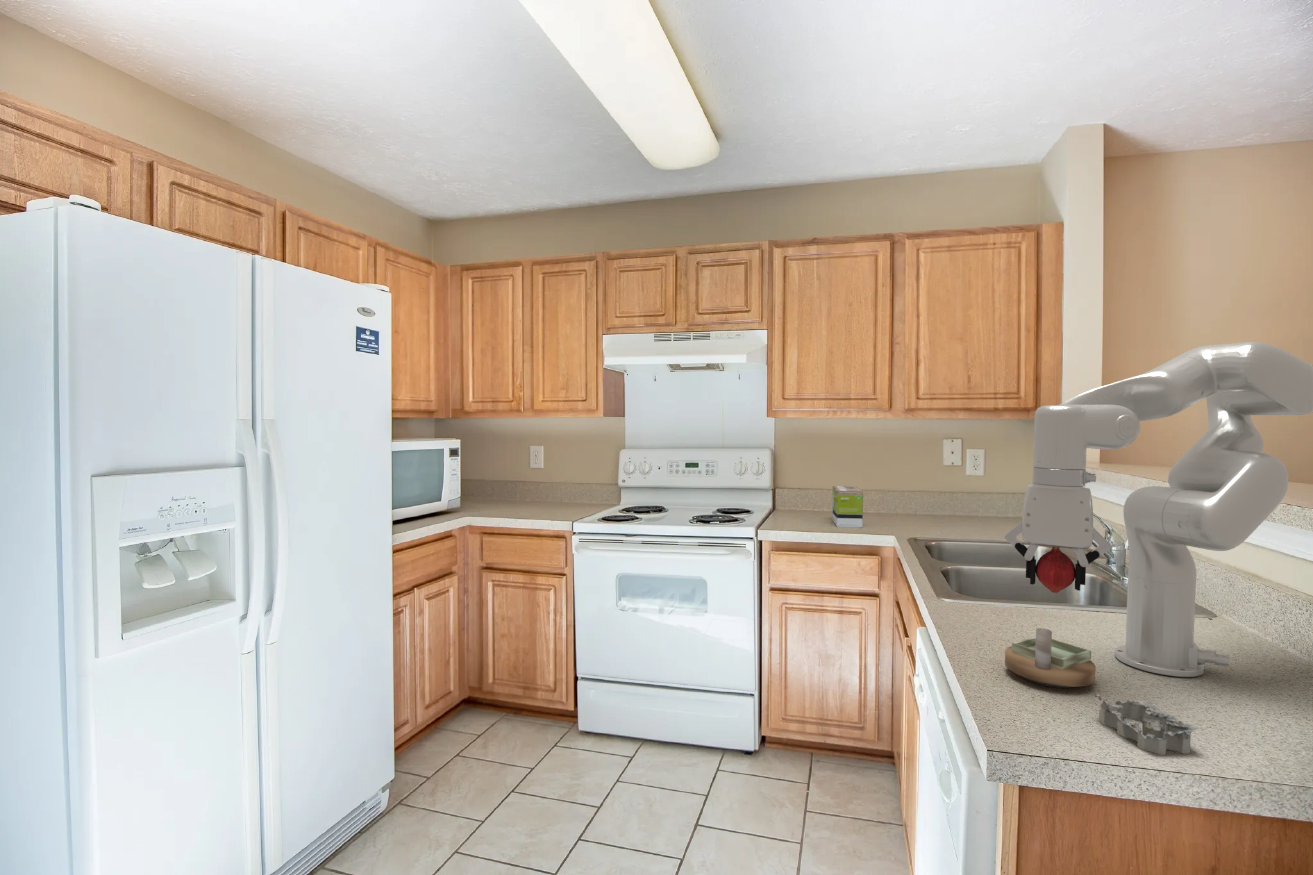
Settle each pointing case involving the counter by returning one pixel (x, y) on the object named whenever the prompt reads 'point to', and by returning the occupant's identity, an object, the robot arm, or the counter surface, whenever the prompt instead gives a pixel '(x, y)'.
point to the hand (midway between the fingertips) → (1054, 584)
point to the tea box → (848, 506)
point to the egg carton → (1147, 726)
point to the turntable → (1050, 661)
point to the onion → (1055, 570)
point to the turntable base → (1048, 684)
